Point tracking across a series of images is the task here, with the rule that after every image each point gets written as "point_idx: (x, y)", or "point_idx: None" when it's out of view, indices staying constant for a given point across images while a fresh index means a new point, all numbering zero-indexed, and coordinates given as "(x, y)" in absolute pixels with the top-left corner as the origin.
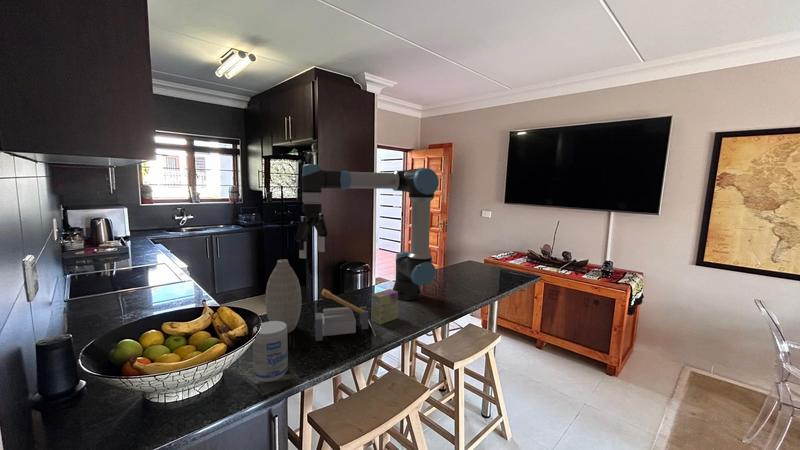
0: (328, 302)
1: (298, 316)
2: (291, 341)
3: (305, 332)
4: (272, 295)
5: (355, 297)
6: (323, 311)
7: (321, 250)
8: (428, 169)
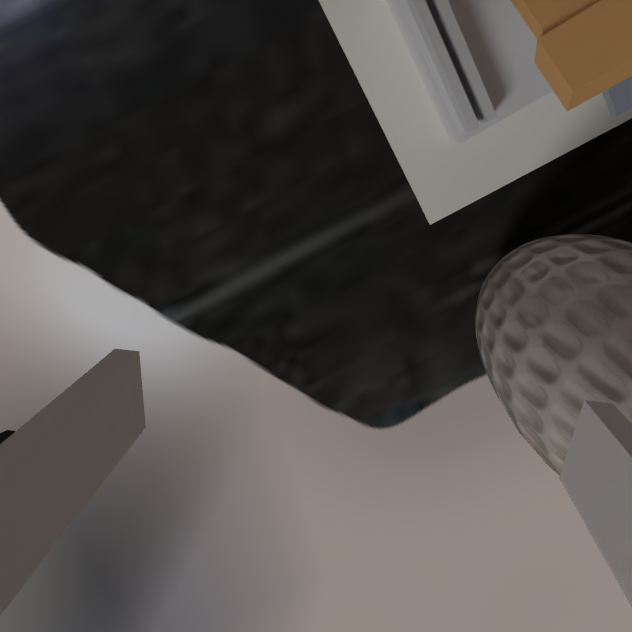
0: (146, 260)
1: (565, 234)
2: (614, 208)
3: (513, 194)
4: None
5: (15, 149)
6: (495, 116)
7: (132, 394)
8: None
